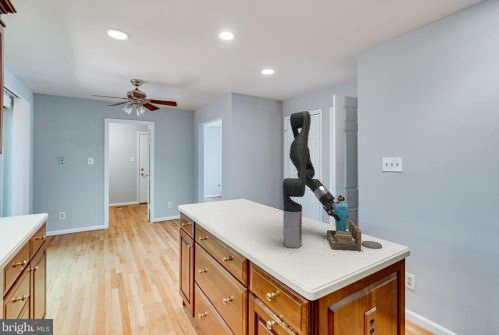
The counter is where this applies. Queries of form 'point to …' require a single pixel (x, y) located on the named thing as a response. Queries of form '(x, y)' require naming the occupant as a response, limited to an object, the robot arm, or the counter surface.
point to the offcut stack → (343, 237)
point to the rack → (346, 246)
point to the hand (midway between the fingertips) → (343, 219)
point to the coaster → (372, 244)
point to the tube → (341, 216)
